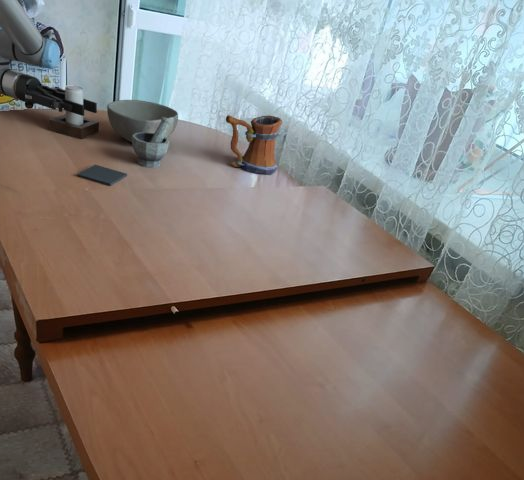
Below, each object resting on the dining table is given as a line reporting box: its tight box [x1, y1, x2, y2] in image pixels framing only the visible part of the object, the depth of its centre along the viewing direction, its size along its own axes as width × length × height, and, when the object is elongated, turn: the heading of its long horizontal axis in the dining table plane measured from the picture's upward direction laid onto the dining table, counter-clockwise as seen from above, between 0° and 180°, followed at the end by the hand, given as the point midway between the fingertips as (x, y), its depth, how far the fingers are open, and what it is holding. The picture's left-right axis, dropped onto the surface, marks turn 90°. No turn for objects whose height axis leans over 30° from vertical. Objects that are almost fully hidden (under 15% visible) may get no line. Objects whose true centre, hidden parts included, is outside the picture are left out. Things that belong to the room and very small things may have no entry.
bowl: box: [106, 99, 179, 143], centre depth 161 cm, size 20×20×10 cm
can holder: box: [48, 113, 100, 140], centre depth 159 cm, size 10×10×3 cm
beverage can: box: [64, 84, 84, 126], centre depth 157 cm, size 5×5×12 cm
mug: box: [225, 114, 283, 175], centre depth 159 cm, size 18×12×15 cm, turn 113°
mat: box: [76, 164, 128, 187], centre depth 137 cm, size 9×9×1 cm
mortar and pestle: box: [131, 117, 171, 169], centre depth 147 cm, size 11×9×12 cm
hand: (89, 109), depth 155 cm, fingers closed on beverage can, 5 cm apart
